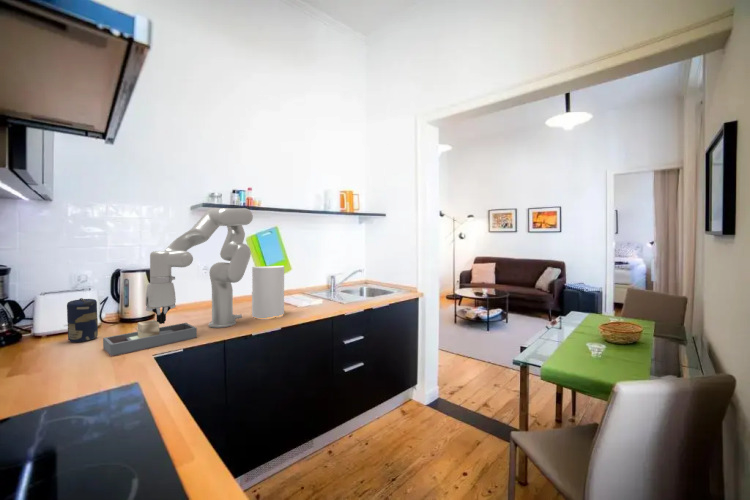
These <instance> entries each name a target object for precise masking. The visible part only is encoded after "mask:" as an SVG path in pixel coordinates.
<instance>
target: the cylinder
mask: <svg viewBox="0 0 750 500" xmlns="http://www.w3.org/2000/svg"><path fill="white" fill-rule="evenodd" d="M251 268H252V269H251V270H252V272H251V273H252V278H251V279H252V282H251V283H252V285H251V286H252V287H251V288H252V291H251V317H252V316H253V317H256V318H267V317H273V316H279V315H282V314H284V315H285V265H271V266H269V265H268V266H266V265H265V266H252V267H251ZM253 317H252V318H253Z"/></svg>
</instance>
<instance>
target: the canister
mask: <svg viewBox="0 0 750 500" xmlns="http://www.w3.org/2000/svg"><path fill="white" fill-rule="evenodd" d="M66 313H67V315H66V316H67V317H66V319H67V320H66V321H67V339H68V341H69V342H70V343H71V342H72V343H80V342H86V341H91V340H93V339H95V338H97V337H98V335H99V329H98V328H99V321H98V301H97V300H96V299H93V298H83V297H81V298H79V299H75V300H70V301H68V302H67V304H66Z"/></svg>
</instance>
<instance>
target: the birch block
mask: <svg viewBox="0 0 750 500" xmlns="http://www.w3.org/2000/svg"><path fill="white" fill-rule="evenodd" d="M159 328H160V324H159V322H157V319H156V320H155V319H152V320H146V321H139V322H137V332H138V337H139V338H144V337H149V336H154V335H159Z"/></svg>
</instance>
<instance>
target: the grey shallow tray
mask: <svg viewBox="0 0 750 500" xmlns="http://www.w3.org/2000/svg"><path fill="white" fill-rule="evenodd" d="M197 330H198V329H197V327H196V326H194V325H192V324H189V323H188V322H183V323H176V324H172V325H167V326H165V325H164V326H161V327H160V326H159V335H154V336H149V337H144V338H139V337H138V331H134V332H128V333H122V334H117V335H116V334H115V335H112V336H107V337H102V340H103V341H102V344H103V347H102V349H103V350H104V352H105V353H107V354H108V356H110V357H111V358H113V357H115V356H120V355H121V354H122V355H125V354H129V353H130V354H131V353H134V352H139V351H143V350H147V349H153V348H157V347H161V346H167V345H171V344H175V343H179V342H183V341H184V342H185V341H188V340H193V339H197V338H198V337H197V336H198V334H197V332H198V331H197ZM112 356H113V357H112Z"/></svg>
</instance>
